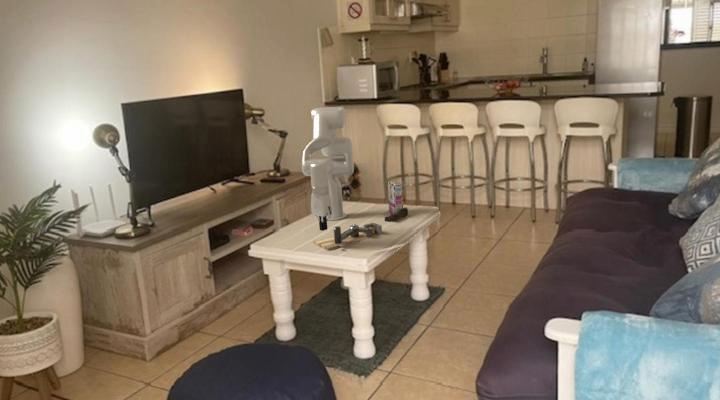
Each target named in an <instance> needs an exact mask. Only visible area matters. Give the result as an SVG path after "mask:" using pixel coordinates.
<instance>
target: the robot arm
mask: <svg viewBox="0 0 720 400" xmlns="http://www.w3.org/2000/svg"><path fill="white" fill-rule="evenodd" d="M347 113H348V112H347V110H346V108H345V107H344V106H331V107H327V106H326V107H316V108H313V109H312V110H311V112H310V118H311V120H312V121H313V122H312V123H313V125H312V140H311V141H310V142H309V143H308V144H306V146H305V148H304V150H303V152H302V157H301V171H302V174H303V175H304V176H306V177H310V182H311V183H310V184H311V194H310V195H311V196H310V211H311V212H310V213H311V214H312V215H314V216H315V217H316V218H317V221H318V225H319V226H318V227H319V231H321V232H322V231H326V230H328V221H337V220H344V219H345V218H346V217H347V214H346V213H345V212H344V206H343V191H342V183H341V181H340V180H339V178H338V177H346V176H348V177H349V176H352V175H353V174H354V172H355V171H354V170H355V164H354V153H353V152H354V151H353V143H352V140H351V138H350V137H348V136H347V137H346V136H337V129H339V130H340V129H343V128H344V127H345V125H346V123H347V117H348V115H347ZM318 151H321V153H322V155H323V156H324V157H327V158H310V157H311V156H312V155H314V153H316V152H318Z"/></svg>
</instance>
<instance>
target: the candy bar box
mask: <svg viewBox="0 0 720 400" xmlns="http://www.w3.org/2000/svg"><path fill="white" fill-rule="evenodd" d="M387 185H388V187H387V189H388V213H390V214H391V215H392V214H395V213H397V212H399V211H400V209H402V208H404V194H403V193H404V191H403V184H402V183H400V182H398V181H388V182H387Z"/></svg>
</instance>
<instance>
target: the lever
mask: <svg viewBox="0 0 720 400" xmlns="http://www.w3.org/2000/svg"><path fill="white" fill-rule="evenodd" d="M359 226H360V225H358V224H356V223H353V224H351V225H349V228H348V229H346V230H345V231H343V232H342V230H341V229H342V228H341V226H338V225H337V226H334V227H333V237H334V240H335V244H340V243H342V240H344V239H346V238H347V237H349V236H351V237H357V236H359V232H361V233H366V236H372V229H370V228H364V227H361V226H360V227H359Z"/></svg>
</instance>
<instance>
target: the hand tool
mask: <svg viewBox="0 0 720 400" xmlns="http://www.w3.org/2000/svg"><path fill="white" fill-rule="evenodd" d="M408 215H409V210H408V207H403V208H402V209H400V211H399V212H397V213H395V214H391V215H390V214H389V215H388V216H385V217H384V222H387V223H391V222H395V221H397V220H399V219H401V217H402V218H406V217H407V216H408Z"/></svg>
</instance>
